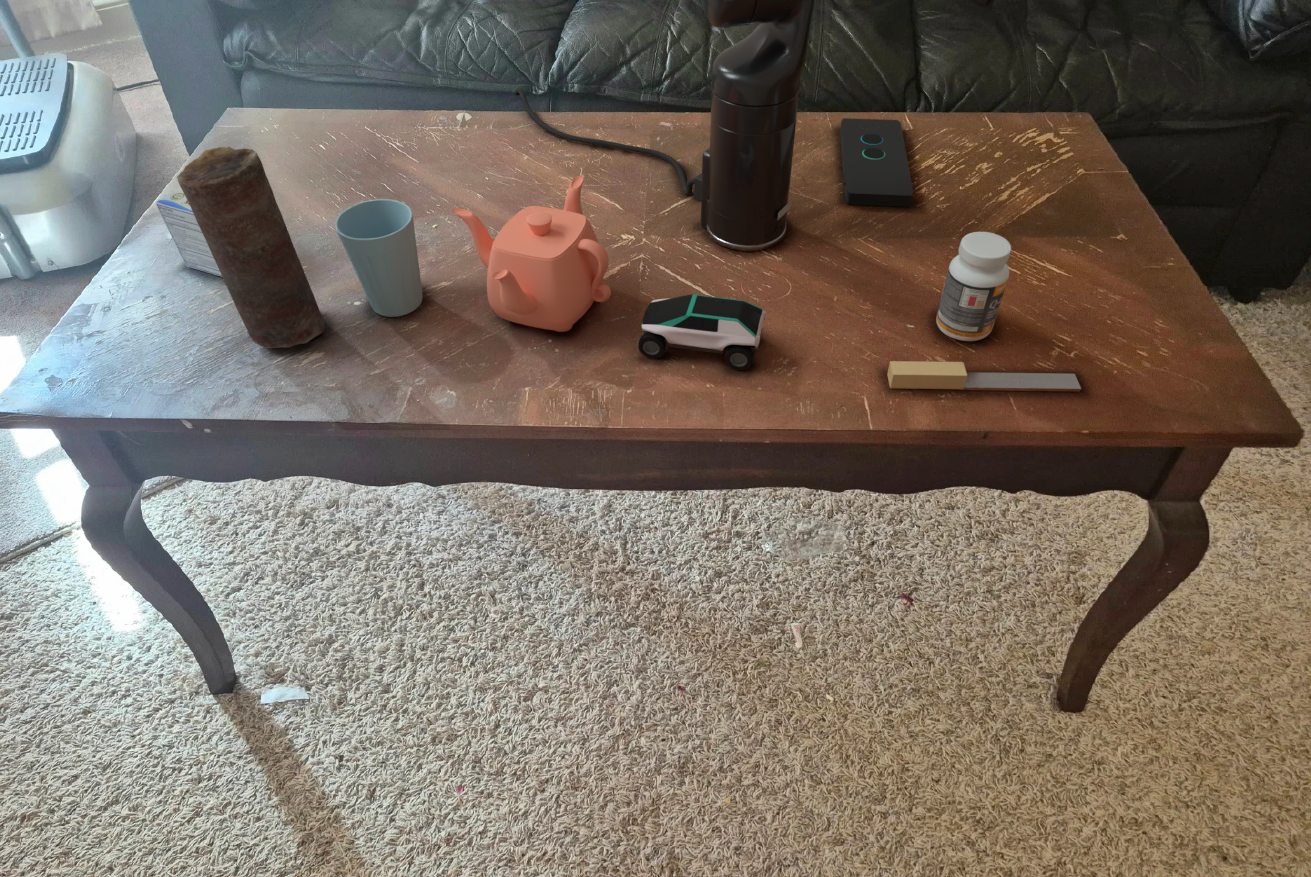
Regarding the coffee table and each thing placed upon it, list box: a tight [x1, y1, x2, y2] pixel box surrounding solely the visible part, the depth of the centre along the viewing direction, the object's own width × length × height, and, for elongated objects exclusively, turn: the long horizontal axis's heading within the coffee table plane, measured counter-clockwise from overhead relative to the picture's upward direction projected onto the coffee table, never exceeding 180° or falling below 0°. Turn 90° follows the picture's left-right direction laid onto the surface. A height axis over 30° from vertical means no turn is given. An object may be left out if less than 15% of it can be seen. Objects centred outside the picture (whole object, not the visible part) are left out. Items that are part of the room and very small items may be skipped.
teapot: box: [451, 175, 612, 333], centre depth 91 cm, size 14×14×11 cm
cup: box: [334, 198, 423, 318], centre depth 92 cm, size 8×8×10 cm
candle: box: [176, 146, 326, 349], centre depth 85 cm, size 8×7×20 cm
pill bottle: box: [935, 231, 1012, 342], centre depth 88 cm, size 6×6×10 cm
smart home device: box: [839, 117, 914, 208], centre depth 114 cm, size 8×2×20 cm
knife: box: [886, 360, 1082, 393], centre depth 84 cm, size 18×2×2 cm, turn 88°
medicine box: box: [155, 186, 223, 278], centre depth 98 cm, size 8×4×9 cm, turn 65°
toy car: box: [637, 293, 766, 371], centre depth 88 cm, size 6×12×5 cm, turn 77°
